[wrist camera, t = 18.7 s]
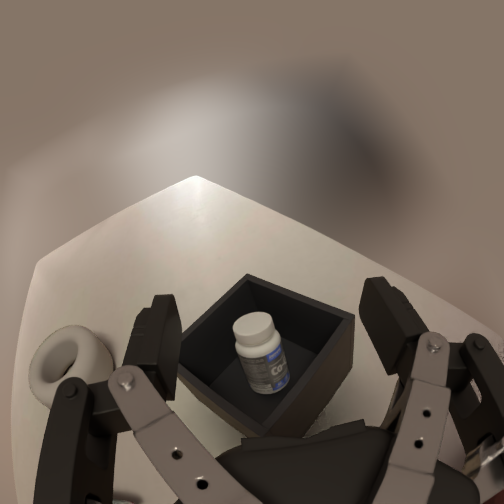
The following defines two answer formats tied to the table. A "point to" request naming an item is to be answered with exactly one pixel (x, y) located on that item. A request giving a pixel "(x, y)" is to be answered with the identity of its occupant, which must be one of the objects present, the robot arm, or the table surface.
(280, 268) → the table surface
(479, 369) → the robot arm
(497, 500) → the can
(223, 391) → the trash bin
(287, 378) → the pill bottle
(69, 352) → the donut shape
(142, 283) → the table surface
